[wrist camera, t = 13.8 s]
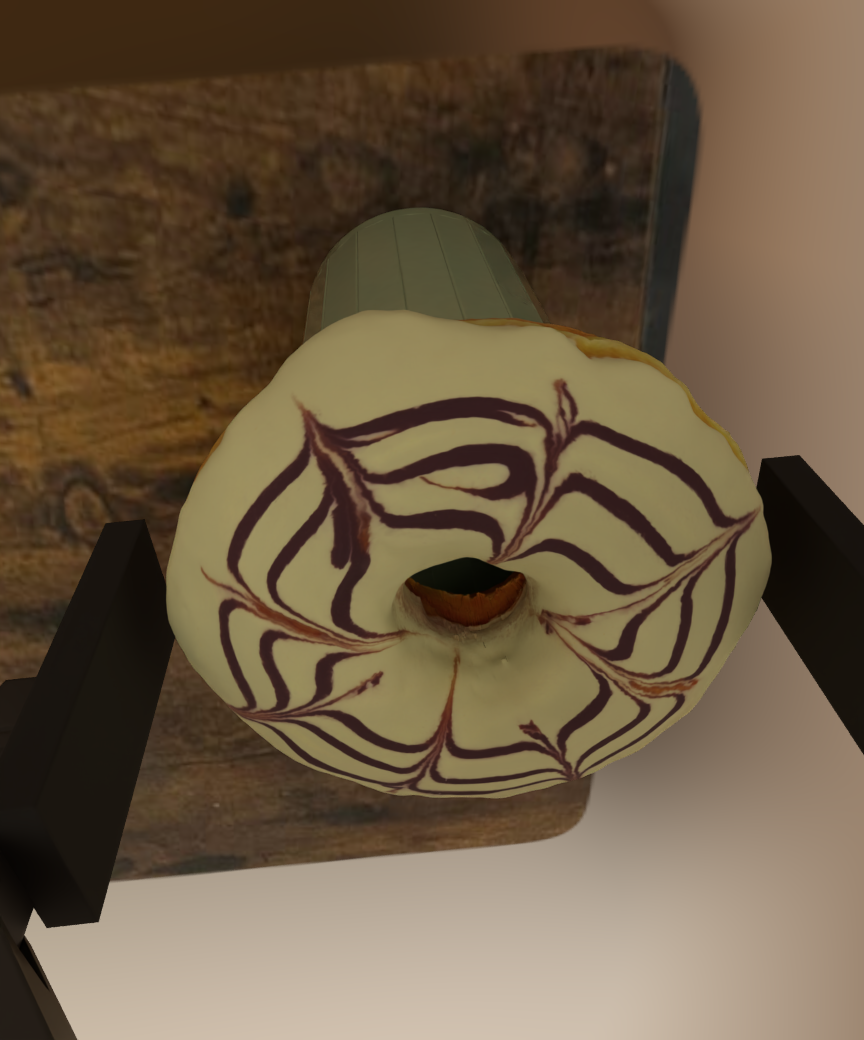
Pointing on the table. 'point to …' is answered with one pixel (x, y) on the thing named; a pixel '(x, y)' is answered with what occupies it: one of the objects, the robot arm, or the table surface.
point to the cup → (425, 305)
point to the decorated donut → (466, 554)
